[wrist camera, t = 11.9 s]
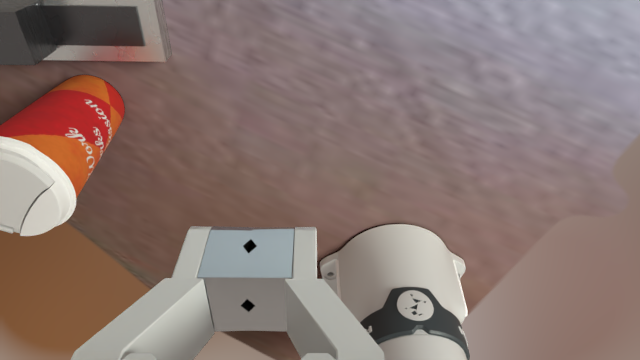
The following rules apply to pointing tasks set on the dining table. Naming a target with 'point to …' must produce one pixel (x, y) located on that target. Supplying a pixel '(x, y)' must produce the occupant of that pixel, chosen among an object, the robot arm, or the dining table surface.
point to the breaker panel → (82, 31)
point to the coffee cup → (54, 152)
